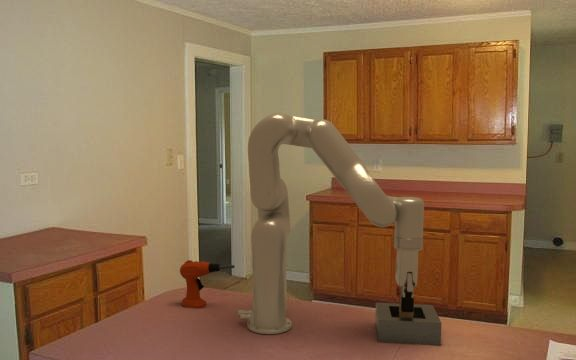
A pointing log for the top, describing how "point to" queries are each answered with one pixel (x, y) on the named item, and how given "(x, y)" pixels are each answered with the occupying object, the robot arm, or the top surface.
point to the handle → (401, 314)
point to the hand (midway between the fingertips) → (406, 308)
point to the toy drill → (197, 280)
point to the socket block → (408, 325)
